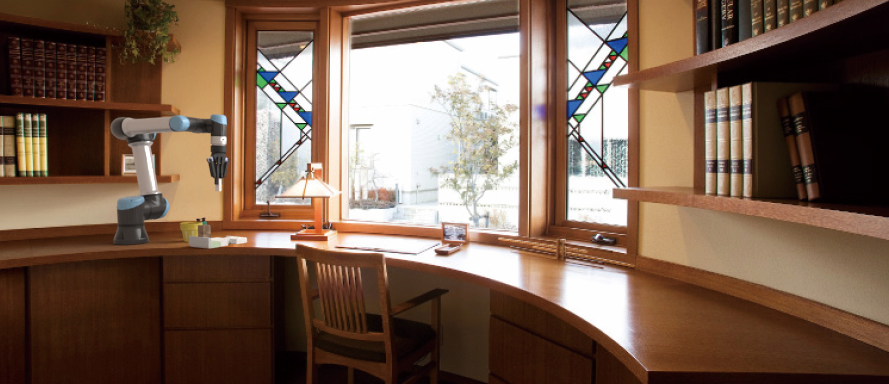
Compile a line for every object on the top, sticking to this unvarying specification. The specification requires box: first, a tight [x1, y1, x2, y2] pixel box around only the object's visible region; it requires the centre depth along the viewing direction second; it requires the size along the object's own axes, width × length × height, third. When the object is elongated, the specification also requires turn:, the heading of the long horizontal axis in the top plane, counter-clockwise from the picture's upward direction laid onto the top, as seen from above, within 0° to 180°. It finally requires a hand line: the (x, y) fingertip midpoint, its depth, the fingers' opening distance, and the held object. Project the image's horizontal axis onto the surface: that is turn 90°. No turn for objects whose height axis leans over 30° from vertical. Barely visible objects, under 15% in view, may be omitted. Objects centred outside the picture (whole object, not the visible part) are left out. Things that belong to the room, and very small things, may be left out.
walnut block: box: [198, 224, 212, 241], centre depth 245 cm, size 4×4×8 cm
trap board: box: [188, 235, 248, 249], centre depth 253 cm, size 23×14×5 cm, turn 154°
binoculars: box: [196, 217, 208, 225], centre depth 280 cm, size 9×11×10 cm
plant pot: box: [179, 221, 202, 243], centre depth 262 cm, size 10×10×10 cm
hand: (218, 191), depth 258 cm, fingers closed
